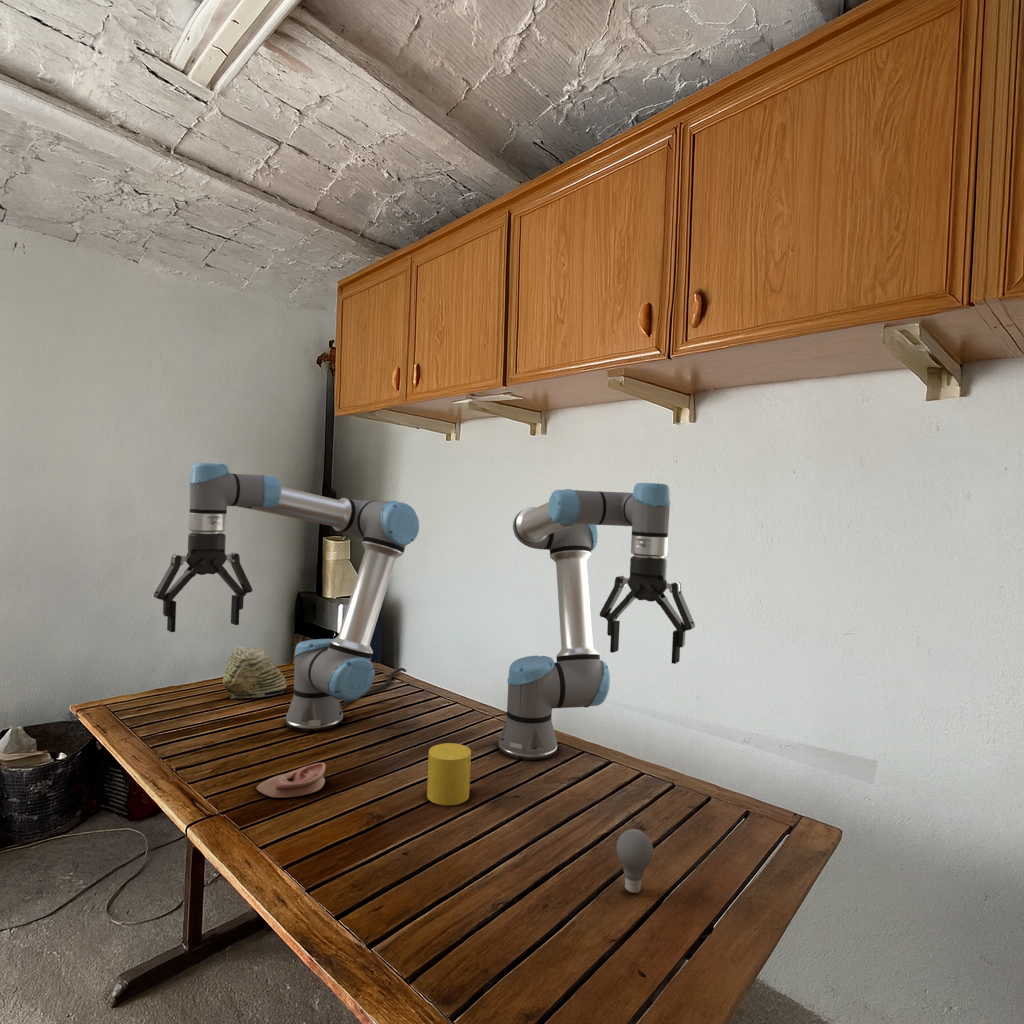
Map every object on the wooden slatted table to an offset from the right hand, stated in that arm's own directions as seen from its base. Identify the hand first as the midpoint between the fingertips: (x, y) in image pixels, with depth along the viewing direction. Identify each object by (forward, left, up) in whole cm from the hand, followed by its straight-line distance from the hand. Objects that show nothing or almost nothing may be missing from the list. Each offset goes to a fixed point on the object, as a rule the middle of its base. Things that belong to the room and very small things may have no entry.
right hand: (644, 656), depth 134 cm
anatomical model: (+38, -64, -33) cm, 81 cm away
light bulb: (+27, +10, -33) cm, 44 cm away
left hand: (+46, -85, 0) cm, 97 cm away
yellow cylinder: (+20, -35, -33) cm, 52 cm away
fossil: (+5, -125, -33) cm, 129 cm away
